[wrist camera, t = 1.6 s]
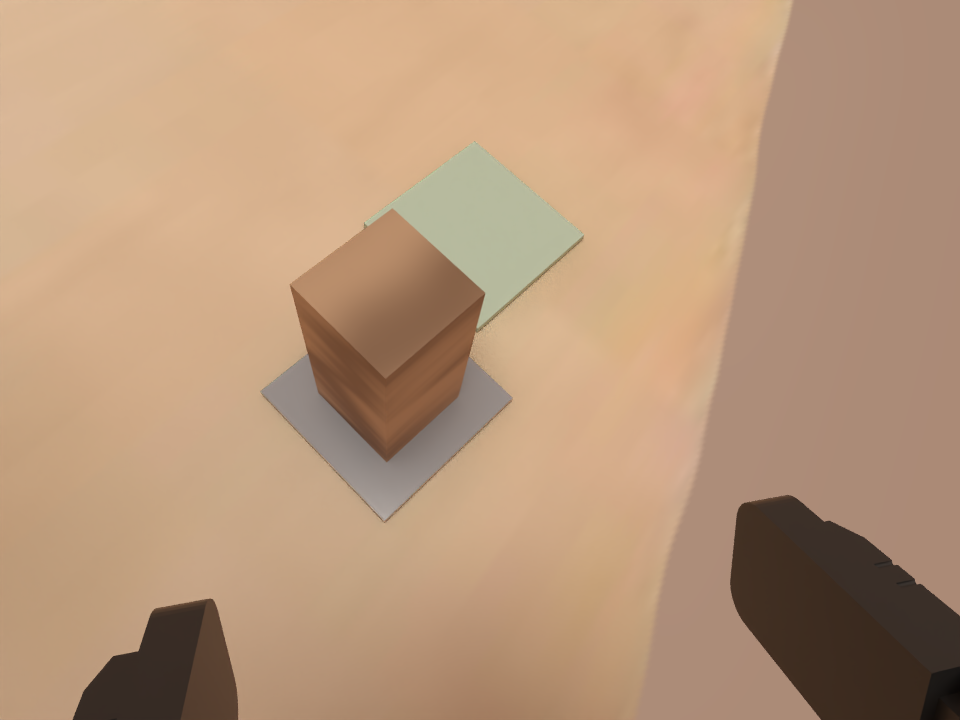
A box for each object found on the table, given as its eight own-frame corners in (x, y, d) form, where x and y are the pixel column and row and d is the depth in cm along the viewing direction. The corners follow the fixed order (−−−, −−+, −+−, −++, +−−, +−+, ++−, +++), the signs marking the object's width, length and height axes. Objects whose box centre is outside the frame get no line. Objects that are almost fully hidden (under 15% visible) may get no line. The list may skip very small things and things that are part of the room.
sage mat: (364, 227, 39) (364, 222, 39) (473, 146, 43) (474, 141, 42) (476, 332, 38) (477, 328, 37) (582, 239, 41) (584, 234, 40)
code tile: (261, 394, 35) (260, 391, 34) (393, 289, 38) (393, 285, 38) (384, 522, 33) (384, 521, 33) (511, 400, 36) (512, 398, 36)
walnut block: (318, 392, 35) (289, 284, 25) (391, 332, 37) (392, 208, 27) (386, 462, 34) (385, 378, 24) (458, 396, 36) (485, 292, 26)
